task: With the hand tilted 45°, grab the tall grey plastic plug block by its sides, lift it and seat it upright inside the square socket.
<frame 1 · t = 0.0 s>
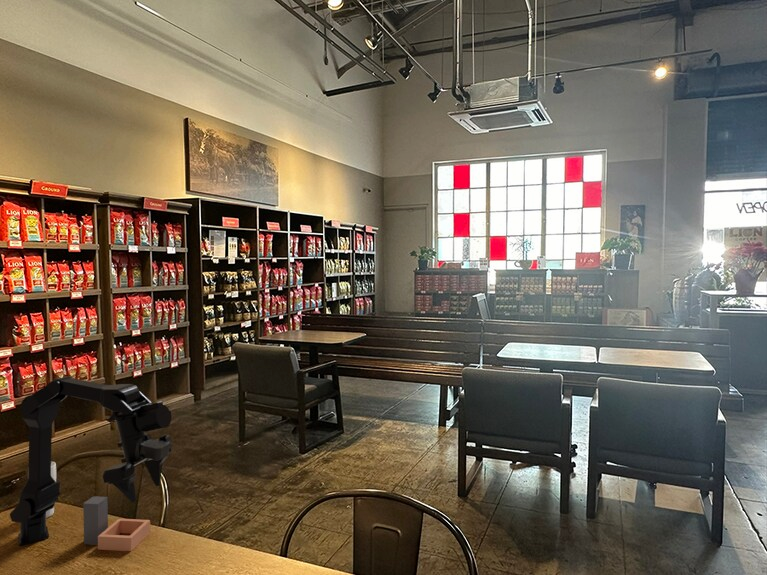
hand: (146, 493, 125), 15 cm above the table, tool pointing down, fingers open, 9 cm apart
plug: (96, 540, 131), on the table
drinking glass: (43, 516, 144), on the table
socket: (125, 540, 131), on the table
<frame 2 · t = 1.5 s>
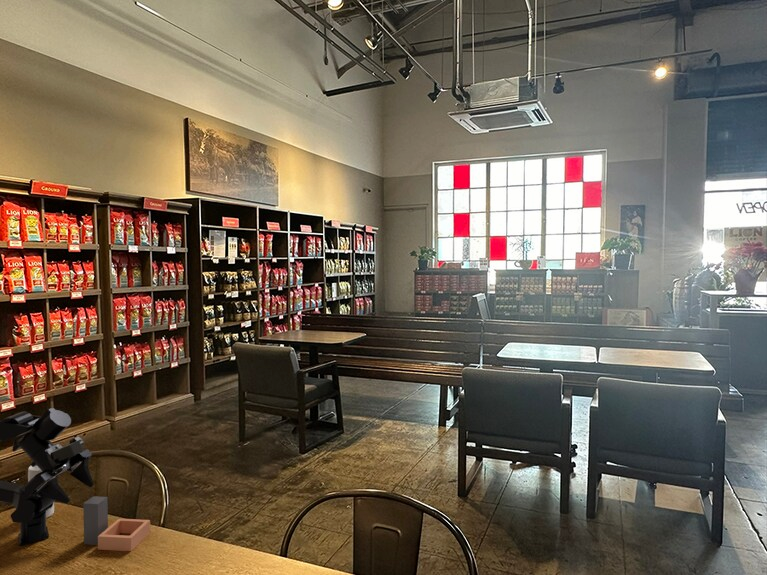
hand: (81, 494, 131), 12 cm above the table, tool tilted 45°, fingers open, 9 cm apart
nothing on the table moved.
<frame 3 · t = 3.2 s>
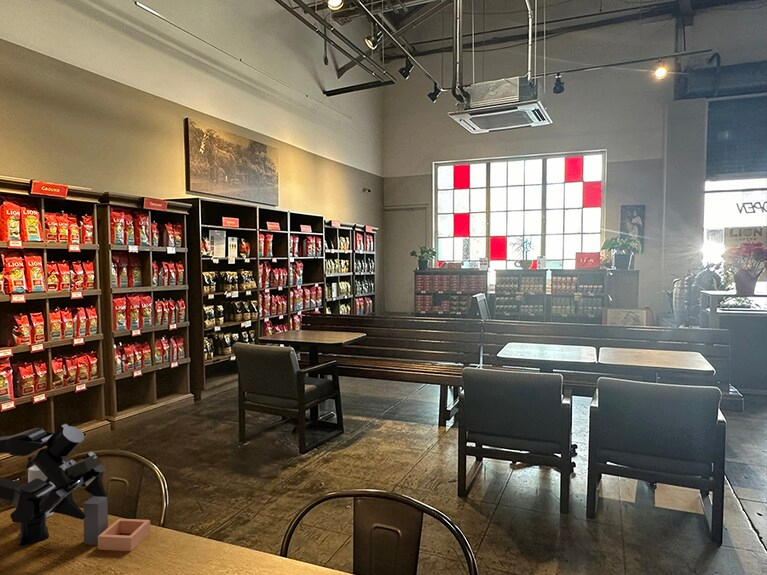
hand: (95, 509, 131), 8 cm above the table, tool tilted 45°, fingers open, 9 cm apart
nothing on the table moved.
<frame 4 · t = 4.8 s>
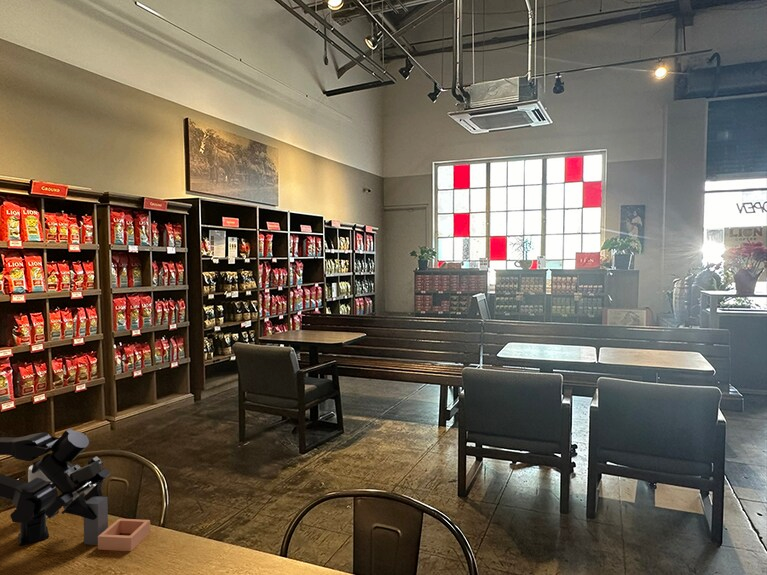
hand: (100, 514, 131), 7 cm above the table, tool tilted 45°, fingers closed on plug, 4 cm apart
plug: (96, 540, 131), on the table, touching gripper
everything else where it was.
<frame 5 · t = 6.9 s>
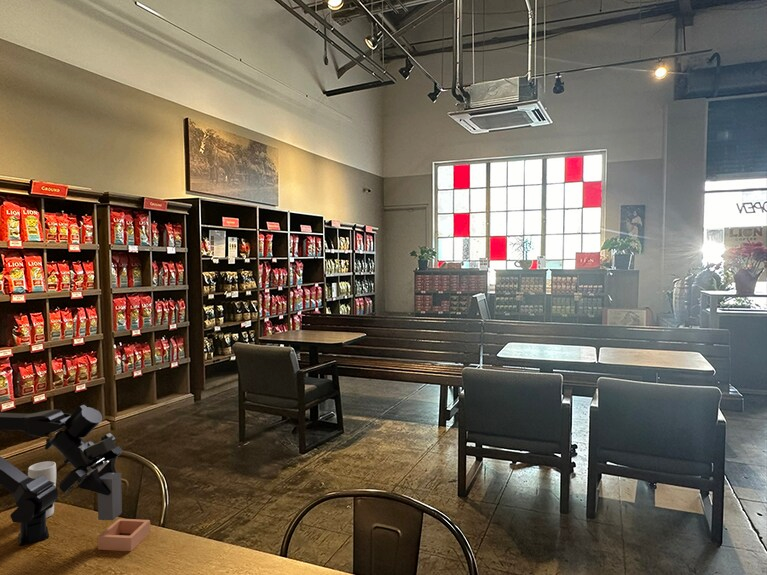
hand: (114, 490, 130), 14 cm above the table, tool tilted 45°, fingers closed on plug, 4 cm apart
plug: (110, 516, 131), point 7 cm above the table, touching gripper
everything else where it was.
when the fingers open (8 cm above the table, at t = 9.2 s): plug drops 1 cm, resting in socket.
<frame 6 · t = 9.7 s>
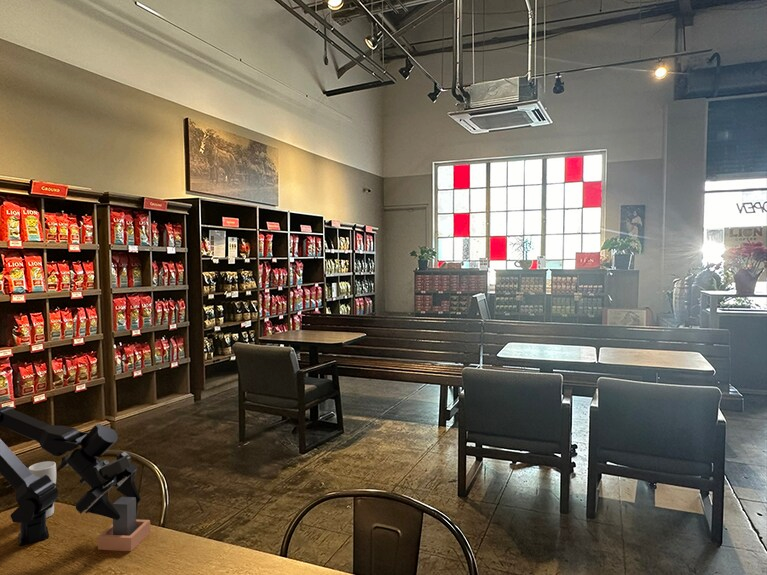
hand: (129, 509, 131), 9 cm above the table, tool tilted 45°, fingers open, 9 cm apart
plug: (125, 540, 131), resting in socket
everything else where it was.
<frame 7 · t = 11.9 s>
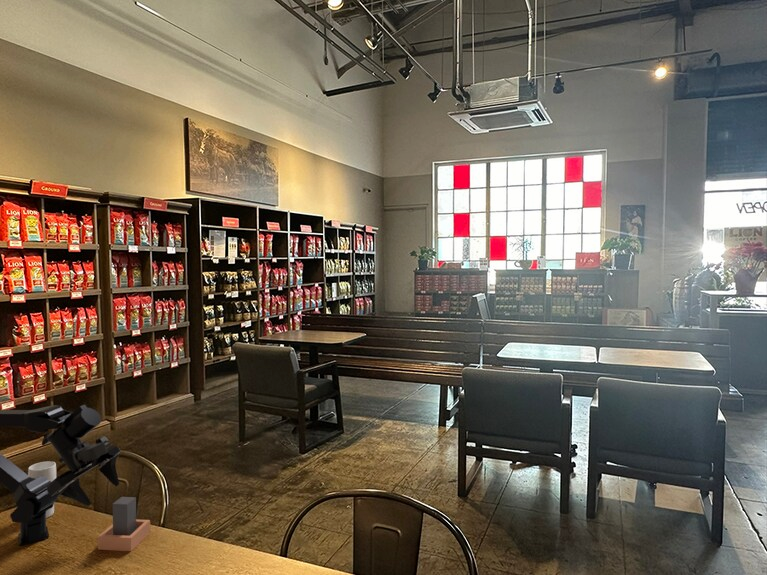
hand: (104, 494, 129), 13 cm above the table, tool tilted 40°, fingers open, 9 cm apart
nothing on the table moved.
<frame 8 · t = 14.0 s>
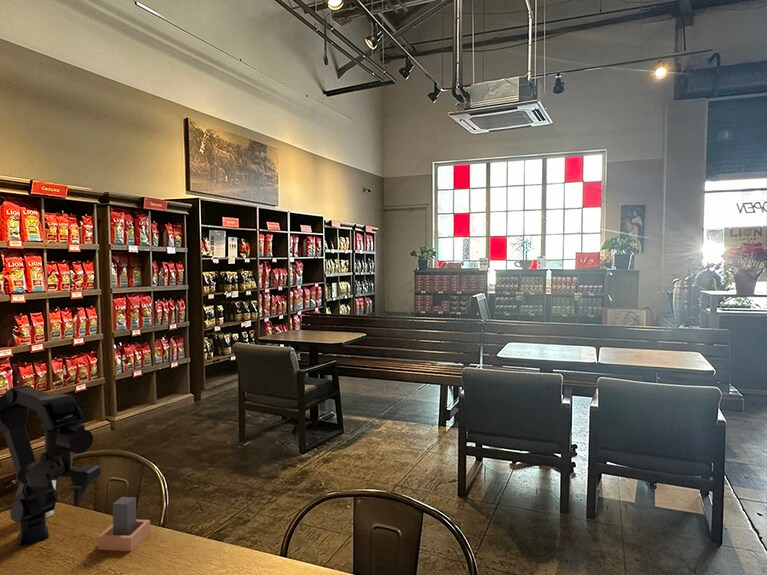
hand: (59, 505, 126), 12 cm above the table, tool pointing down, fingers open, 9 cm apart
nothing on the table moved.
at the end: plug 0.1 cm from the socket (horizontally); plug tilted 0°; plug resting in socket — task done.
